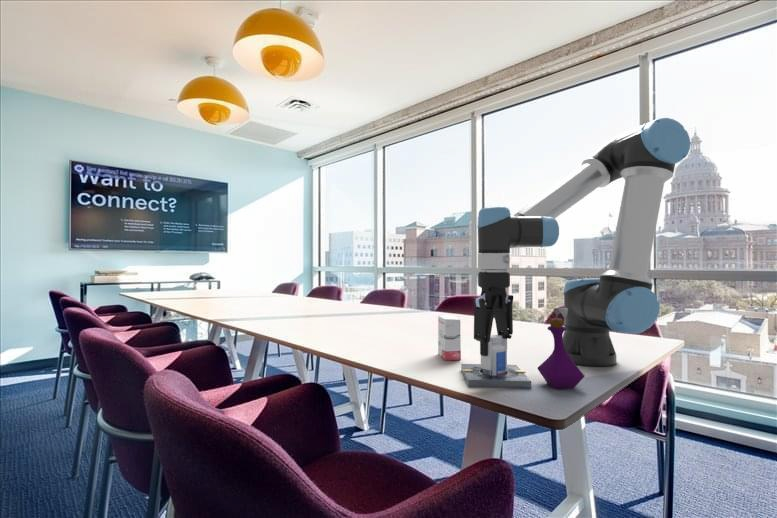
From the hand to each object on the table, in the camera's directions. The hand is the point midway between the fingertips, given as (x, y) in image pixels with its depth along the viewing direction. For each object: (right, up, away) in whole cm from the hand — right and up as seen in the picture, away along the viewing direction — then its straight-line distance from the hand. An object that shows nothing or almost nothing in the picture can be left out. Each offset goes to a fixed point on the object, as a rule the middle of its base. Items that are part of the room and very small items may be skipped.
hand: (493, 366), depth 99 cm
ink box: (-8, -3, +21) cm, 23 cm away
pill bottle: (0, -3, 0) cm, 3 cm away
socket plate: (0, -3, 0) cm, 3 cm away
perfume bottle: (+14, -3, -6) cm, 15 cm away
